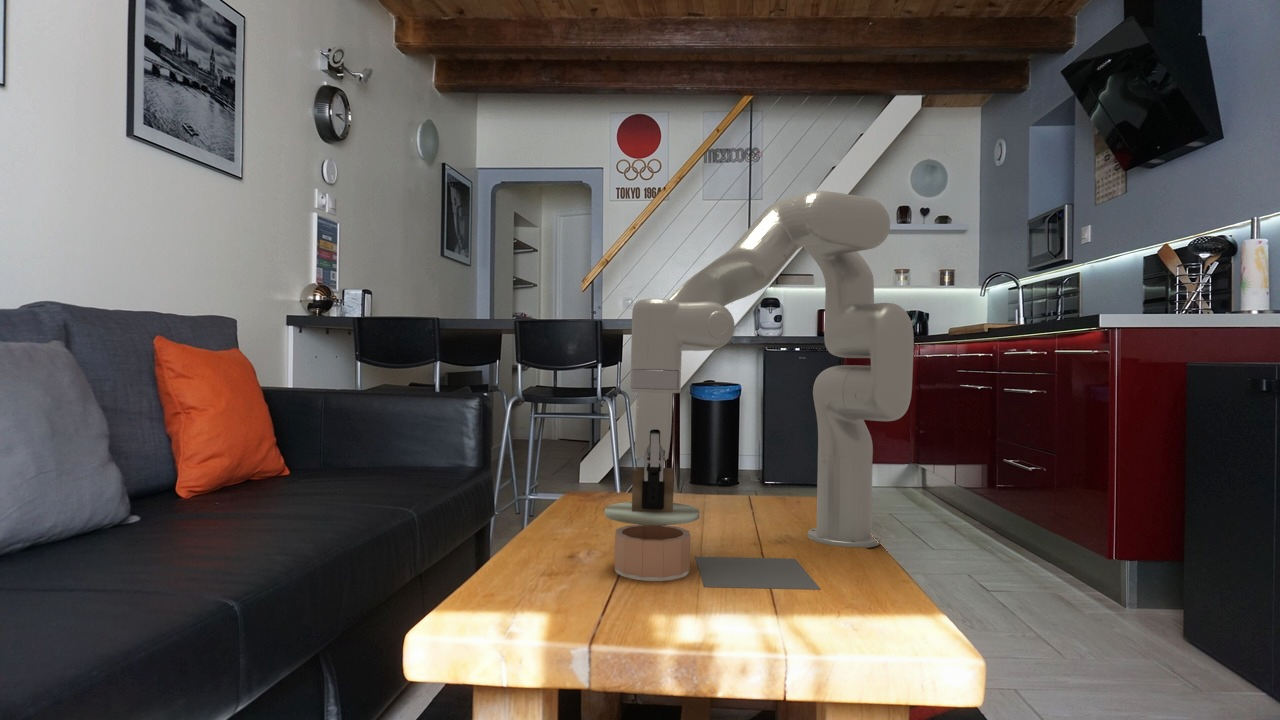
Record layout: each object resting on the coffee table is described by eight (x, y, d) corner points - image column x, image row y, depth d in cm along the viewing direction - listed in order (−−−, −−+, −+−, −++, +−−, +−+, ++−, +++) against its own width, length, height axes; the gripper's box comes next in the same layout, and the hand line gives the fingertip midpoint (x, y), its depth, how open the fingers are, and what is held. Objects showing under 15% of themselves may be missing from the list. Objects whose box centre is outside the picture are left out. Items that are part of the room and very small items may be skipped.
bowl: (616, 562, 111) (616, 523, 111) (686, 563, 111) (687, 525, 111) (613, 583, 100) (614, 540, 100) (691, 584, 100) (692, 541, 100)
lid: (607, 505, 112) (608, 462, 112) (695, 507, 112) (696, 464, 112) (602, 524, 98) (603, 474, 98) (703, 526, 98) (704, 476, 98)
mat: (694, 559, 113) (695, 556, 113) (795, 561, 113) (795, 558, 113) (703, 590, 97) (704, 586, 97) (820, 592, 97) (820, 589, 97)
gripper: (631, 381, 114) (628, 496, 114) (629, 382, 98) (626, 517, 97) (677, 382, 114) (675, 497, 114) (684, 384, 97) (680, 518, 97)
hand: (652, 505), depth 105 cm, fingers closed on lid, 3 cm apart
